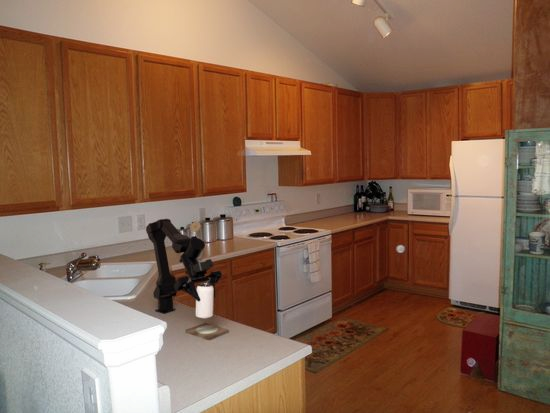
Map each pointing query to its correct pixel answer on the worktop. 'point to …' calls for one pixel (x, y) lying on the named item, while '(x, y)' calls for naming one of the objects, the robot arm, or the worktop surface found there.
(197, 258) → the salt shaker
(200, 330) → the coaster board
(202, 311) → the can
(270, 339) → the worktop surface
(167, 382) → the worktop surface
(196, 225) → the flower in vase
